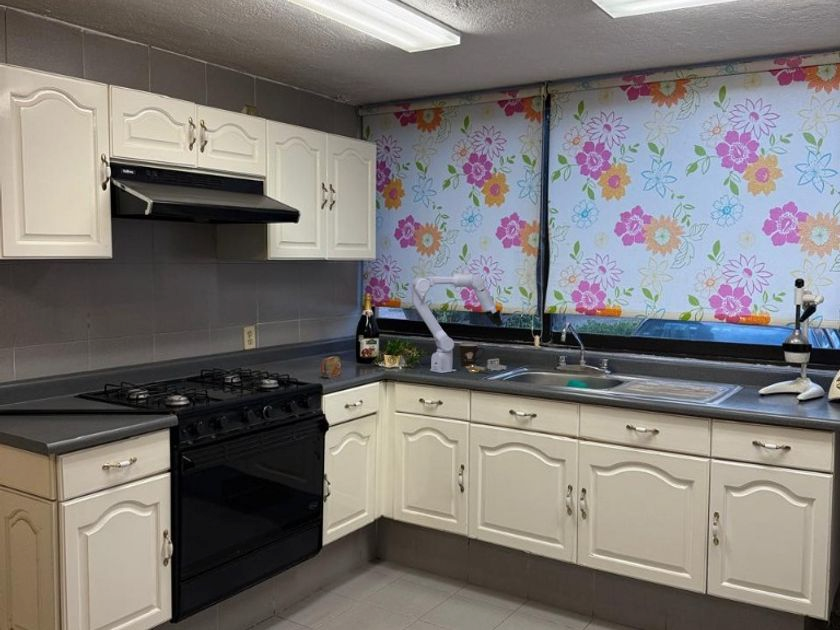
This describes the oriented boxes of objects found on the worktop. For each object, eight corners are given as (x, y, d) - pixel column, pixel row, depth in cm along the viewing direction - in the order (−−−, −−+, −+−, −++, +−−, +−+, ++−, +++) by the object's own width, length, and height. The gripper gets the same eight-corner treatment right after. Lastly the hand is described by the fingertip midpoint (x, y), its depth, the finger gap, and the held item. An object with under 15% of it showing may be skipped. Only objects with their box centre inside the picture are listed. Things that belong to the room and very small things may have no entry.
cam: (464, 371, 339) (464, 364, 339) (473, 370, 343) (474, 363, 343) (483, 374, 331) (483, 367, 331) (492, 373, 335) (492, 366, 335)
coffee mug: (456, 366, 354) (457, 345, 353) (461, 364, 362) (461, 343, 361) (481, 368, 351) (481, 346, 350) (484, 365, 359) (485, 344, 358)
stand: (494, 370, 343) (495, 360, 343) (486, 369, 347) (486, 359, 346) (506, 369, 349) (506, 359, 348) (497, 367, 352) (498, 358, 352)
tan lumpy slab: (326, 379, 312) (326, 359, 311) (319, 379, 313) (320, 359, 312) (342, 374, 326) (342, 355, 326) (335, 374, 327) (335, 354, 327)
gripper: (496, 295, 334) (509, 322, 337) (488, 292, 349) (501, 318, 351) (482, 303, 334) (496, 330, 336) (475, 300, 348) (488, 325, 351)
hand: (498, 324), depth 344 cm, fingers open, 7 cm apart
